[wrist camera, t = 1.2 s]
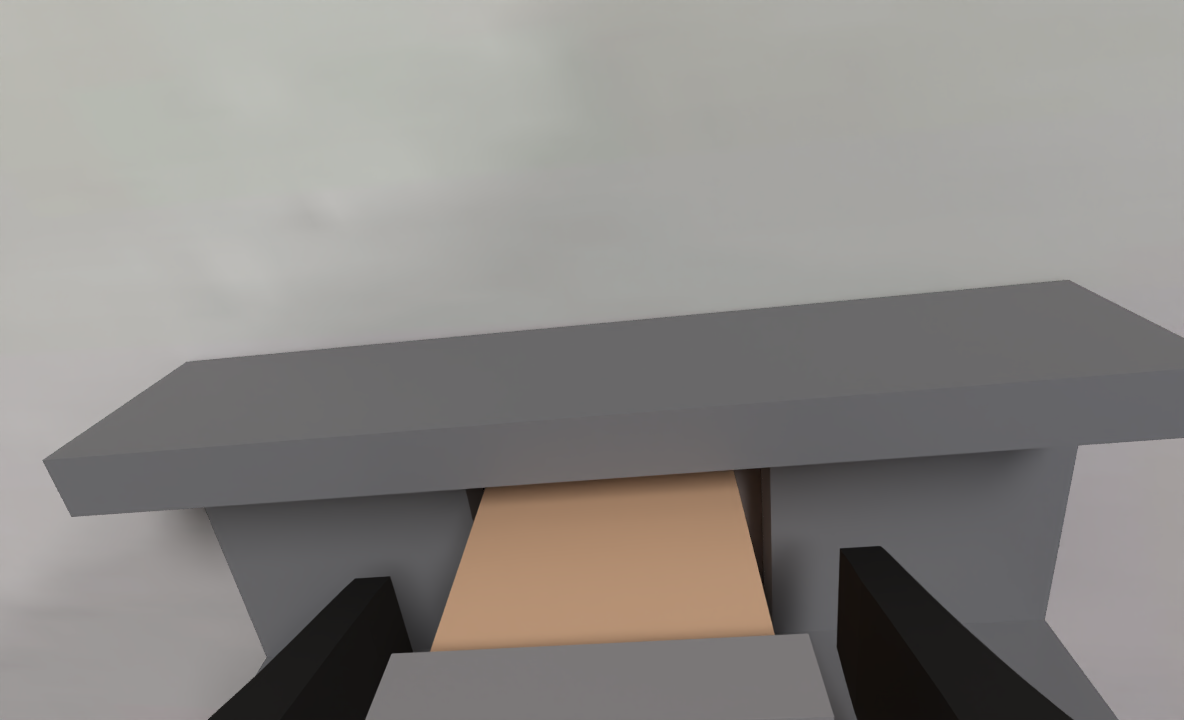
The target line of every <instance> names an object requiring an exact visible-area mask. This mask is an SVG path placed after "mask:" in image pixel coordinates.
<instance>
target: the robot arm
mask: <svg viewBox="0 0 1184 720" xmlns="http://www.w3.org/2000/svg"><path fill="white" fill-rule="evenodd" d="M836 647H837V651H838V655H839V658H840V662H841V666H842V670H843V673H844V677H845V681H846V684H847V688H848V691H849V695H850V698H851V702H852V705H853V709H854V712H855V715H856V718H857V720H1074V719H1072V718H1071V717H1070V716H1068V715H1067V714H1066V713H1065V712H1063V711H1062V710H1061V709H1060V708H1058V707H1057V706H1056V705H1055V704H1053V703H1052V702H1051V701H1050V700H1049V699H1047V698H1046V697H1045V696H1044V695H1043V694H1041V693H1040V692H1039V691H1038V690H1037V689H1035V688H1034V687H1033V686H1032V685H1030V684H1029V683H1028V682H1027V681H1026V680H1024V679H1023V678H1022V677H1021V676H1020V675H1019V674H1017V673H1016V672H1015V671H1014V670H1013V669H1012V668H1010V667H1009V666H1008V665H1007V664H1006V663H1005V662H1003V661H1002V660H1001V659H1000V658H999V657H998V656H997V655H996V654H995V653H993V652H992V651H991V650H990V649H989V648H988V647H987V646H986V645H985V644H983V643H982V642H981V641H980V640H979V639H978V638H977V637H976V636H975V635H973V634H972V633H971V632H970V631H969V630H968V629H967V628H966V627H965V626H963V625H962V624H961V623H960V622H959V621H958V620H957V619H956V618H955V617H954V616H953V615H952V614H951V613H950V612H949V611H947V610H946V609H945V608H944V607H943V606H942V605H941V604H940V603H939V602H938V601H937V600H936V599H935V598H934V597H933V596H932V595H931V594H930V593H929V592H928V591H927V590H926V589H925V588H924V587H923V586H922V585H921V584H920V583H919V582H918V581H917V580H915V579H914V578H913V577H912V576H911V575H910V574H909V573H908V572H907V571H906V570H905V569H904V568H903V567H902V566H901V565H900V564H899V563H898V562H897V561H896V560H895V559H894V558H893V557H892V556H891V555H890V554H889V553H888V552H887V551H886V550H885V549H884V548H883V547H881V546H869V547H853V548H840V557H839V587H838V616H837V646H836ZM395 653H413V650H412V647H411V643H410V640H409V637H408V633H407V630H406V627H405V623H404V620H403V617H402V613H401V610H400V607H399V603H398V600H397V597H396V594H395V590H394V587H393V584H392V580H391V577H390V576H386V577H370V578H355V579H354V580H353V581H352V582H350V583H349V584H348V585H347V586H346V587H345V588H344V589H343V590H342V591H341V592H340V593H339V594H338V595H337V596H336V597H335V598H334V599H333V600H332V601H331V602H330V603H329V604H328V605H327V606H326V607H325V608H324V609H323V610H322V611H321V612H320V613H319V614H318V615H317V616H316V617H315V618H314V619H313V620H312V621H311V622H310V623H309V624H308V625H307V626H306V627H305V628H304V629H303V630H302V631H301V632H300V633H299V634H298V635H297V636H296V637H295V638H294V639H293V640H292V641H291V642H290V643H289V644H288V645H287V646H286V647H285V648H283V649H282V650H281V651H280V652H279V653H278V654H277V655H276V656H275V657H274V658H273V659H272V660H271V661H270V662H269V663H268V664H267V665H266V666H265V667H264V668H263V669H262V670H261V671H260V672H259V673H258V674H257V675H256V676H255V677H254V678H253V679H252V680H251V681H250V682H249V683H247V684H246V685H245V686H244V687H243V688H242V689H241V690H240V691H239V692H238V693H236V694H235V695H234V696H233V697H232V698H231V699H230V700H229V701H228V702H227V703H225V704H224V705H223V706H222V707H221V708H220V709H219V710H218V711H217V712H216V713H215V714H213V715H212V716H211V717H210V718H209V719H208V720H365V719H366V717H367V714H368V712H369V709H370V707H371V704H372V702H373V699H374V697H375V694H376V692H377V689H378V687H379V684H380V682H381V679H382V677H383V674H384V672H385V669H386V667H387V664H388V662H389V659H390V657H391V654H395Z"/></svg>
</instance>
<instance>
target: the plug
mask: <svg viewBox="0 0 1184 720" xmlns="http://www.w3.org/2000/svg"><path fill="white" fill-rule="evenodd" d="M365 720H834V714H833V711H832V708H831V705H830V701H829V698H828V695H827V692H826V688H825V685H824V682H823V679H822V676H821V672H820V669H819V666H818V663H817V659H816V656H815V653H814V650H813V647H812V643H811V640H810V637H809V634H788V635H775V634H774V630H773V626H772V622H771V618H770V614H769V610H768V606H767V602H766V598H765V594H764V590H763V586H762V582H761V578H760V574H759V570H758V566H757V562H756V558H755V554H754V550H753V546H752V542H751V538H750V534H749V530H748V526H747V522H746V518H745V514H744V510H743V506H742V502H741V498H740V494H739V490H738V486H737V482H736V478H735V474H734V470H724V471H710V472H696V473H682V474H668V475H654V476H639V477H625V478H611V479H597V480H583V481H569V482H555V483H541V484H527V485H513V486H499V487H485V490H484V493H483V496H482V499H481V502H480V505H479V508H478V511H477V514H476V517H475V520H474V523H473V526H472V529H471V532H470V535H469V538H468V541H467V544H466V547H465V550H464V553H463V556H462V559H461V562H460V564H459V567H458V570H457V573H456V576H455V579H454V582H453V585H452V588H451V591H450V594H449V597H448V600H447V603H446V606H445V609H444V612H443V615H442V618H441V621H440V624H439V627H438V630H437V633H436V636H435V638H434V641H433V644H432V647H431V650H430V652H416V653H395V654H391V657H390V659H389V662H388V664H387V667H386V669H385V672H384V674H383V677H382V679H381V682H380V684H379V687H378V689H377V692H376V694H375V697H374V699H373V702H372V704H371V707H370V709H369V712H368V714H367V717H366V719H365Z"/></svg>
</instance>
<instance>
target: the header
mask: <svg viewBox="0 0 1184 720" xmlns="http://www.w3.org/2000/svg"><path fill="white" fill-rule="evenodd" d="M1175 438H1184V338H1183V337H1181V336H1179V335H1177V334H1175V333H1173V332H1171V331H1169V330H1167V329H1165V328H1163V327H1161V326H1159V325H1157V324H1155V323H1153V322H1151V321H1149V320H1147V319H1145V318H1143V317H1141V316H1139V315H1137V314H1135V313H1133V312H1131V311H1129V310H1127V309H1125V308H1123V307H1121V306H1119V305H1117V304H1115V303H1113V302H1111V301H1109V300H1107V299H1105V298H1103V297H1101V296H1099V295H1097V294H1096V293H1094V292H1092V291H1090V290H1088V289H1086V288H1084V287H1082V286H1080V285H1078V284H1076V283H1074V282H1072V281H1070V280H1063V281H1052V282H1042V283H1031V284H1020V285H1009V286H998V287H988V288H977V289H966V290H955V291H945V292H934V293H923V294H912V295H902V296H891V297H880V298H869V299H859V300H848V301H837V302H826V303H816V304H805V305H794V306H783V307H773V308H762V309H751V310H740V311H730V312H719V313H708V314H697V315H686V316H676V317H665V318H654V319H643V320H633V321H622V322H611V323H600V324H590V325H579V326H568V327H557V328H547V329H536V330H525V331H514V332H504V333H493V334H482V335H471V336H461V337H450V338H439V339H428V340H418V341H407V342H396V343H385V344H374V345H364V346H353V347H342V348H331V349H321V350H310V351H299V352H288V353H278V354H267V355H256V356H245V357H235V358H224V359H213V360H202V361H192V362H186V363H184V364H183V365H181V366H180V367H178V368H177V369H175V370H174V371H173V372H171V373H170V374H168V375H167V376H165V377H164V378H162V379H161V380H159V381H158V382H156V383H155V384H153V385H152V386H151V387H149V388H148V389H146V390H145V391H143V392H142V393H140V394H139V395H137V396H136V397H134V398H133V399H132V400H130V401H129V402H127V403H126V404H124V405H123V406H121V407H120V408H118V409H117V410H115V411H114V412H112V413H111V414H110V415H108V416H107V417H105V418H104V419H102V420H101V421H99V422H98V423H96V424H95V425H93V426H92V427H91V428H89V429H88V430H86V431H85V432H83V433H82V434H80V435H79V436H77V437H76V438H74V439H73V440H71V441H70V442H69V443H67V444H66V445H64V446H63V447H61V448H60V449H58V450H57V451H55V452H54V453H52V454H51V455H49V456H48V457H47V458H45V459H44V460H43V462H44V464H45V466H46V468H47V470H48V472H49V474H50V476H51V478H52V480H53V482H54V484H55V486H56V488H57V490H58V492H59V493H60V495H61V497H62V499H63V501H64V503H65V505H66V507H67V509H68V511H69V513H70V515H71V517H76V516H90V515H104V514H118V513H132V512H146V511H161V510H175V509H189V508H203V507H204V508H205V510H206V513H207V515H208V517H209V520H210V522H211V525H212V527H213V529H214V532H215V534H216V537H217V539H218V541H219V544H220V546H221V549H222V551H223V553H224V556H225V558H226V561H227V563H228V565H229V568H230V570H231V573H232V575H233V577H234V580H235V582H236V584H237V587H238V589H239V592H240V594H241V596H242V599H243V601H244V604H245V606H246V608H247V611H248V613H249V616H250V618H251V620H252V623H253V625H254V628H255V630H256V632H257V635H258V637H259V640H260V642H261V644H262V647H263V649H264V652H265V654H266V656H267V658H266V660H265V661H264V663H263V664H262V666H261V668H260V669H259V671H258V673H259V672H260V671H261V670H262V669H263V668H264V667H265V666H266V665H267V664H268V663H269V662H270V661H271V660H272V659H273V658H274V657H275V656H276V655H277V654H278V653H279V652H280V651H281V650H282V649H283V648H285V647H286V646H287V645H288V644H289V643H290V642H291V641H292V640H293V639H294V638H295V637H296V636H297V635H298V634H299V633H300V632H301V631H302V630H303V629H304V628H305V627H306V626H307V625H308V624H309V623H310V622H311V621H312V620H313V619H314V618H315V617H316V616H317V615H318V614H319V613H320V612H321V611H322V610H323V609H324V608H325V607H326V606H327V605H328V604H329V603H330V602H331V601H332V600H333V599H334V598H335V597H336V596H337V595H338V594H339V593H340V592H341V591H342V590H343V589H344V588H345V587H346V586H347V585H348V584H349V583H350V582H352V581H353V580H354V579H355V578H370V577H386V576H390V577H391V580H392V584H393V587H394V590H395V594H396V597H397V600H398V603H399V607H400V610H401V613H402V617H403V620H404V623H405V627H406V630H407V633H408V637H409V640H410V643H411V647H412V650H413V653H416V652H430V650H431V647H432V644H433V641H434V638H435V636H436V633H437V630H438V627H439V624H440V621H441V618H442V615H443V612H444V609H445V606H446V603H447V600H448V597H449V594H450V591H451V588H452V585H453V582H454V579H455V576H456V573H457V570H458V567H459V564H460V562H461V559H462V556H463V553H464V550H465V547H466V544H467V541H468V538H469V535H470V532H471V529H472V526H473V523H474V520H475V517H476V514H477V511H478V508H479V505H480V502H481V499H482V496H483V493H484V492H483V488H484V487H499V486H513V485H527V484H541V483H555V482H569V481H583V480H597V479H611V478H625V477H639V476H654V475H668V474H682V473H696V472H710V471H724V470H738V469H752V468H761V484H762V528H763V571H764V594H765V598H766V602H767V606H768V610H769V614H770V618H771V622H772V626H773V630H774V634H775V635H788V634H809V637H810V640H811V643H812V647H813V650H814V653H815V656H816V659H817V663H818V666H819V669H820V672H821V676H822V679H823V682H824V685H825V688H826V692H827V695H828V698H829V701H830V705H831V708H832V711H833V714H834V720H857V718H856V715H855V712H854V709H853V705H852V702H851V698H850V695H849V691H848V688H847V684H846V681H845V677H844V673H843V670H842V666H841V662H840V658H839V655H838V651H837V647H836V646H837V616H838V587H839V557H840V548H853V547H869V546H881V547H883V548H884V549H885V550H886V551H887V552H888V553H889V554H890V555H891V556H892V557H893V558H894V559H895V560H896V561H897V562H898V563H899V564H900V565H901V566H902V567H903V568H904V569H905V570H906V571H907V572H908V573H909V574H910V575H911V576H912V577H913V578H914V579H915V580H917V581H918V582H919V583H920V584H921V585H922V586H923V587H924V588H925V589H926V590H927V591H928V592H929V593H930V594H931V595H932V596H933V597H934V598H935V599H936V600H937V601H938V602H939V603H940V604H941V605H942V606H943V607H944V608H945V609H946V610H947V611H949V612H950V613H951V614H952V615H953V616H954V617H955V618H956V619H957V620H958V621H959V622H960V623H961V624H962V625H963V626H965V627H966V628H967V629H968V630H969V631H970V632H971V633H972V634H973V635H975V636H976V637H977V638H978V639H979V640H980V641H981V642H982V643H983V644H985V645H986V646H987V647H988V648H989V649H990V650H991V651H992V652H993V653H995V654H996V655H997V656H998V657H999V658H1000V659H1001V660H1002V661H1003V662H1005V663H1006V664H1007V665H1008V666H1009V667H1010V668H1012V669H1013V670H1014V671H1015V672H1016V673H1017V674H1019V675H1020V676H1021V677H1022V678H1023V679H1024V680H1026V681H1027V682H1028V683H1029V684H1030V685H1032V686H1033V687H1034V688H1035V689H1037V690H1038V691H1039V692H1040V693H1041V694H1043V695H1044V696H1045V697H1046V698H1047V699H1049V700H1050V701H1051V702H1052V703H1053V704H1055V705H1056V706H1057V707H1058V708H1060V709H1061V710H1062V711H1063V712H1065V713H1066V714H1067V715H1068V716H1070V717H1071V718H1072V719H1074V720H1118V718H1117V717H1116V716H1115V714H1114V713H1113V712H1112V710H1111V709H1110V708H1109V706H1108V705H1107V704H1106V702H1105V701H1104V700H1103V698H1102V697H1101V695H1100V694H1099V693H1098V691H1097V690H1096V689H1095V687H1094V686H1093V685H1092V683H1091V682H1090V681H1089V679H1088V678H1087V676H1086V675H1085V674H1084V672H1083V671H1082V670H1081V668H1080V667H1079V666H1078V664H1077V663H1076V662H1075V660H1074V659H1073V657H1072V656H1071V655H1070V653H1069V652H1068V651H1067V649H1066V648H1065V647H1064V645H1063V644H1062V643H1061V641H1060V640H1059V639H1058V637H1057V636H1056V634H1055V633H1054V632H1053V630H1052V629H1051V628H1050V626H1049V625H1048V624H1047V622H1046V621H1045V615H1046V610H1047V605H1048V600H1049V595H1050V589H1051V584H1052V579H1053V574H1054V569H1055V563H1056V558H1057V553H1058V548H1059V543H1060V537H1061V532H1062V527H1063V522H1064V517H1065V511H1066V506H1067V501H1068V496H1069V491H1070V485H1071V480H1072V475H1073V470H1074V465H1075V459H1076V454H1077V449H1078V445H1090V444H1104V443H1118V442H1132V441H1146V440H1161V439H1175ZM258 673H257V674H258ZM257 674H256V675H257Z"/></svg>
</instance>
